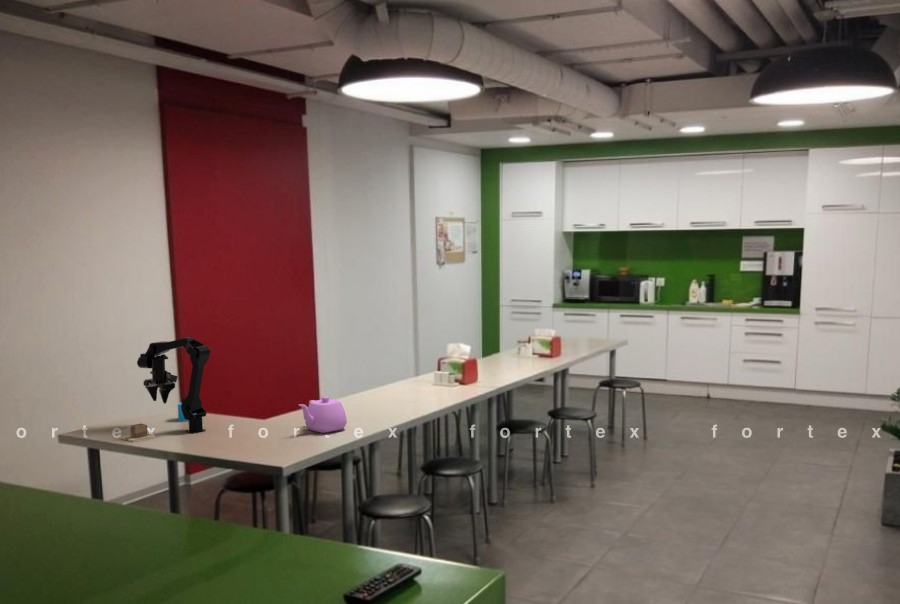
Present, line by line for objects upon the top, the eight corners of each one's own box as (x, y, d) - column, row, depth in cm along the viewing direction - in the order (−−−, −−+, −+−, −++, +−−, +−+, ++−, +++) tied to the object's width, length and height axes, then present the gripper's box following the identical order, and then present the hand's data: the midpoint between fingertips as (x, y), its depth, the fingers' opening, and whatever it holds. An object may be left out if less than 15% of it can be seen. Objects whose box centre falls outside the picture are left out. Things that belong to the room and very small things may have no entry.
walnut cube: (147, 436, 314) (146, 424, 314) (136, 438, 310) (135, 427, 310) (141, 434, 317) (141, 423, 317) (130, 436, 314) (130, 425, 313)
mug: (189, 422, 344) (189, 405, 344) (174, 421, 346) (174, 404, 345) (204, 416, 356) (203, 400, 355) (189, 416, 358) (188, 399, 357)
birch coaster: (155, 437, 315) (155, 435, 315) (133, 442, 307) (133, 440, 307) (144, 434, 321) (144, 432, 321) (122, 438, 313) (122, 437, 313)
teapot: (325, 422, 339) (324, 390, 338) (352, 429, 324) (351, 396, 323) (283, 431, 323) (282, 398, 322) (310, 439, 308) (309, 404, 307)
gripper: (185, 368, 332) (186, 401, 333) (164, 365, 344) (166, 397, 345) (162, 371, 323) (163, 405, 324) (142, 368, 335) (143, 401, 336)
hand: (159, 402), depth 332 cm, fingers open, 9 cm apart
